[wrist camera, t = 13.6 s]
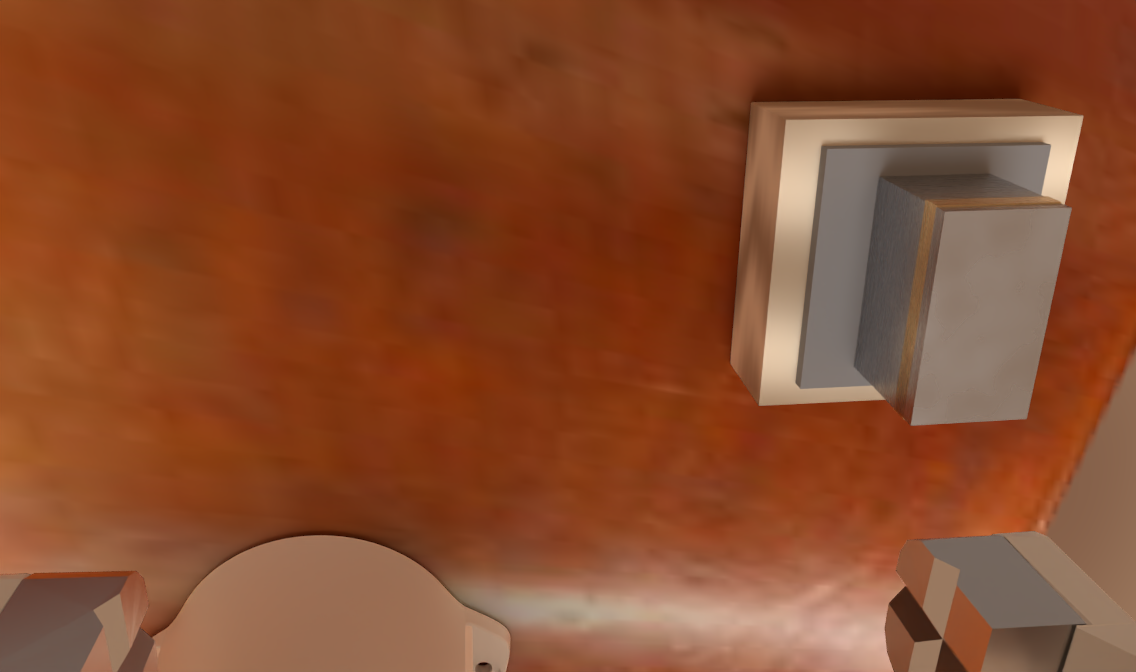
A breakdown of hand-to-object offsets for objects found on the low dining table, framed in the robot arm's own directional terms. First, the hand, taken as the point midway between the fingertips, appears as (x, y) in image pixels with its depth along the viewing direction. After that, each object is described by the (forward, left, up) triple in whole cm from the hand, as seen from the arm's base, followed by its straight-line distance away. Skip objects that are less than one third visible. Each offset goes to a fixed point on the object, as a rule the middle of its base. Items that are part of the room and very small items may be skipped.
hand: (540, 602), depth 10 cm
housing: (-6, -18, -26) cm, 31 cm away
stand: (-5, -18, -31) cm, 36 cm away
